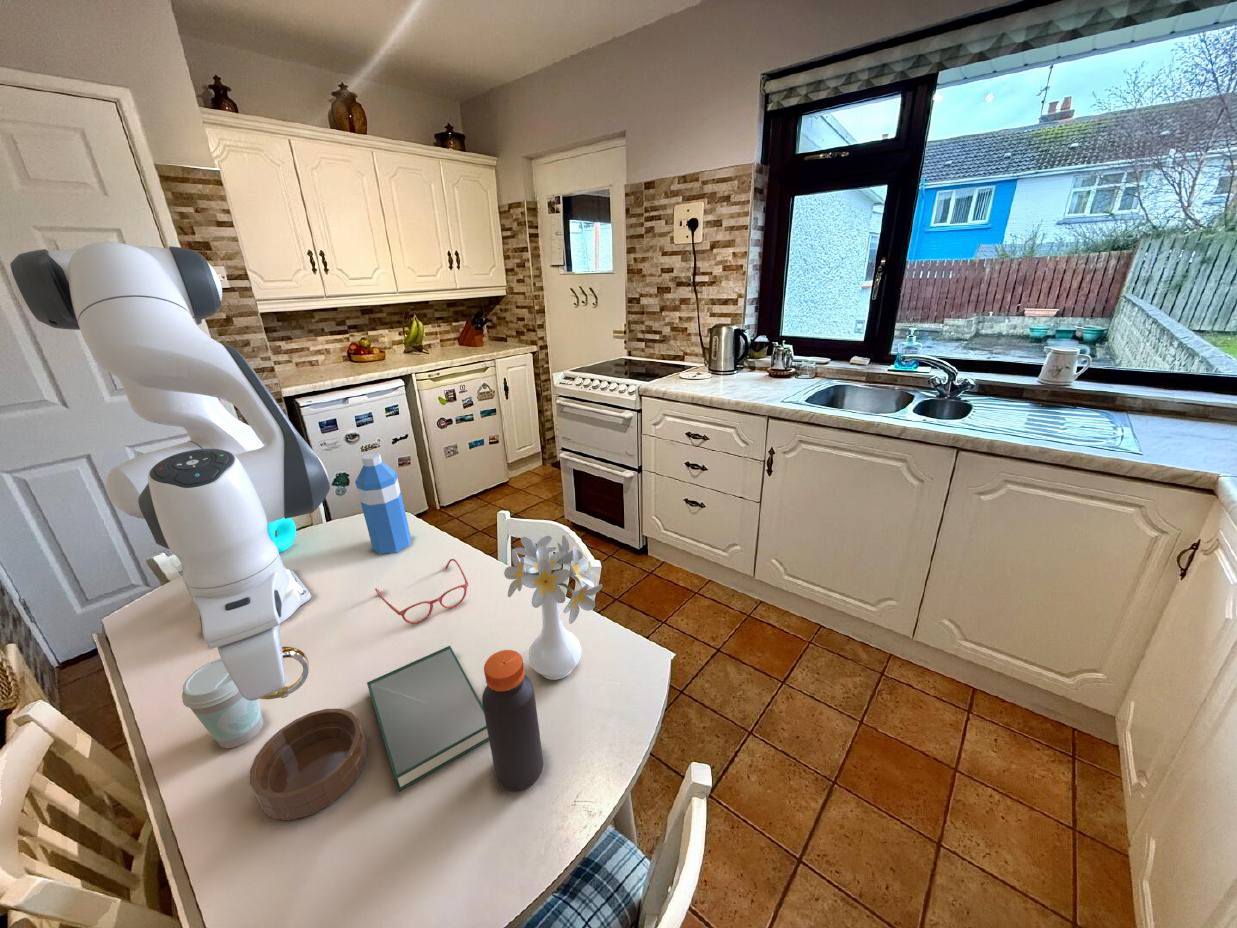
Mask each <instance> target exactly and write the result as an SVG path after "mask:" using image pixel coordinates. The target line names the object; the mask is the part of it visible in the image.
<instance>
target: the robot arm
mask: <svg viewBox="0 0 1237 928" xmlns="http://www.w3.org/2000/svg"><path fill="white" fill-rule="evenodd" d="M9 266H10V274H9V275H10V276H9V280H10V285H11V289H12V291H13V294H14V295H15V298H16V299H17V300H18V302H19V303H20V304H21V305H22V306H23V308H24V309H25V310H27V311H28V312H29V314H31V315H33V316H34V318H35V319H36V320H37V321H38V322H40V323H42V324H44V325H47V326H49V327H51V328H54V329H61V330H72V331H73V330H75V331H79V330H80V333H81V335H82V337H83V339H84V342H85V344H86V346H87V347H88V349H89V351H90V353H91V355H92V357H94V360H95V361H96V362H97V364H98V365H99V366H101V368H102V369H104V370H105V371H106V372H108V373H109V374H111V375H113V376H114V377H115V378H118V379H119V381H120V384H121V386H122V388H123V391H124V393H125V395H126V397H127V399H128V402H129V404H130V406H131V409H132V411H133V412H134V413H135V414H136V415H137V416H138V417H140V418H141V419H143V420H145V421H147V422H149V423H153V424H158V425H161V426H162V425H163V426H169V427H178V428H183V429H184V430H185V431H186V433H187V434H188V436H189V440H188V441H185V442H182V443H177V444H174V445H170V446H166V447H164V448H163V447H162V448H159V449H156V450H152V451H149V452H145V453H142V454H140V455H138V456H135V457H132V458H130V459H128V460H126V461H124V462H122V463H120V464H118V465H116V466H114V467H112V468H111V469H110V471H109V473H108V474H107V477H106V481H105V491H106V494H107V496H108V499H109V501H110V502H111V504H113V505H114V507H116V508H117V509H118V510H119V511H120V512H123V513H124V514H126V515H127V516H130V517H134V518H138V519H142V520H143V519H144V520H145V522H146V524H147V526H148V528H149V530H150V532H151V535H152V537H153V539H154V542H155V544H157V545H159V546H161V547H162V548H165V549H168V550H170V551H171V553H172V554H173V555H174V556H175V557H177V559H178V560H179V561H180V564H181V567H182V579H183V582H184V584H185V586H186V589H187V590H188V593H189V595H190V597H191V600H192V604H193V606H194V609H195V611H196V612H197V614H198V616H199V620H200V628H201V632H202V638H203V640H204V642H205V645H206V646H207V648H208V649H210V650H212V649H216V648H217V651H218V654H219V657H220V658H221V660H222V662H223V664H224V666H225V668H226V670H227V671H228V673H229V675H230V677H231V678H232V680H233V682H234V684H235V685H236V687H237V688H238V690H239V692H240V693H241V695H242V696H243V697H244V698H245V699H247V700H249V701H254V700H257V699H258V700H259V699H260V698H262V697H265V696H267V695H270V694H272V693H274V692H276V691H279V690H281V689H282V688H284V687H286V674H285V665H284V664H285V663H284V658H283V654H282V647H283V645H282V635H281V634H282V633H281V624H282V623H284V622H285V621H286V620H287V619H289V618H290V617H291V616H293V615H294V613H295V612H296V611H297V610H298V609H299V608H300V607H301V606H303V605H305V604H306V603H307V602H308V601H310V600H311V599H312V595H311V593H310V591H309V590H308V589H307V587H306V586H305V585H304V583H303V582H302V581H301V580H300V578H299V577H298V575H297V574H296V573H295V571H293V569H287V568H286V566H285V565H284V563H283V561H282V557H281V555H280V553H279V552H278V549H277V547H276V545H275V544H274V543H273V542H272V540H271V539H270V537H269V535H268V532H267V523H270V522H273V521H276V520H279V519H283V518H285V519H287V518H291V519H292V518H295V517H300V516H305V515H309V514H313V513H314V512H315V511H316V510H317V509H318V508H319V507H320V506H321V505H322V503H323V502H324V501H325V499H326V497H327V496H328V494H329V492H330V490H331V485H330V478H329V474H328V471H327V469H326V466H325V465H324V463H323V462H322V460H321V458H320V457H319V456H318V455H317V454H316V453H315V451H314V450H313V449H312V447H311V446H310V445H309V444H308V442H307V441H306V440H305V439H304V438H303V437H302V436H301V434H300V432H298V431H297V429H296V428H295V426H294V425H293V423H292V421H290V419H289V418H288V416H287V415H286V414H285V412H284V410H283V409H282V407H281V406H280V405H279V404H278V402H277V400H276V399H275V397H274V396H273V395H272V393H271V391H270V390H269V388H268V387H267V386H266V385H265V383H264V382H263V380H262V379H261V378H260V377H259V375H258V373H257V372H256V371H255V369H254V368H253V366H251V364H250V363H249V362H248V361H247V359H246V358H245V356H243V355H242V354H241V353H240V352H239V351H238V350H237V348H235V347H234V346H231V345H229V344H225V343H223V342H219V341H217V340H216V339H214V338H212V337H211V336H209V335H208V334H206V333H205V332H204V331H203V330H202V329H201V328H200V327H199V326H198V325H201V324H202V320H204V319H207V318H210V317H212V316H214V315H216V313H217V312H218V311H219V310H220V309H221V308H222V299H223V287H222V283H221V278H220V277H219V276H218V273H217V272H216V270H215V268H214V267H213V266H212V265H211V264H210V263H209V262H208V260H207V259H206V257H205V256H203V255H202V254H201V253H200V252H199V251H197V250H194V249H191V248H186V247H179V246H173V245H170V246H169V247H168V248H167V247H158V246H157V247H156V246H147V245H131V244H127V243H123V242H116V241H99V242H98V241H97V242H93V243H89V244H87V245H84V246H82V247H78V248H77V247H76V248H68V249H58V250H52V251H49V250H48V249H47V248H43V249H36V250H31V251H26V252H22V253H19V254H17V255H16V256H15V257H14V259H13V260H11V262H10V265H9ZM221 400H223V401H226V402H228V403H230V404H231V405H233V406H234V407H235V408H237V410H238V411H239V412H240V414H241V415H242V416H243V418H244V419H245V421H246V423H245V422H243V421H241V420H240V419H238V418H237V417H235V416H234V415H233V414H232V413H230V411H228V409H227V408H225V405H223V404H222V402H221ZM260 700H261V699H260Z"/></svg>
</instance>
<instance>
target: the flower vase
mask: <svg viewBox="0 0 1237 928" xmlns="http://www.w3.org/2000/svg"><path fill="white" fill-rule="evenodd" d="M551 541H552V536H551V535H546V536H544V537H543V536H542V538H540V539H539V540H538V541H537V542H536V543H535V541H534V540H533V539H532V538H531V537H530V536H529V537H528V536H522V537H520V542H521V544H522V546H523V547H515V548H513V549H512V550H511V560H512V561H511V562H512V564H513V566H507V567H506V568H505V569H504V570H503V576H504V577H505V579H507V580H512V582H511V583H510V585H509V587H508V591H507V597H508V598H511V597H512V596H513V595H514V593H515V591H516V590H517V591H518V592H521V591H522V588H523V586H524V587H526V588H529V589H535V590H534V592H533V594H532V597H531V606H532V607H533V608H535V609H537V608H539V607H541V617H542V619H541V620H542V628H541V630H540V633H539V634H538V635H537V636H536V637H535V638H534V639H533V641H532V643H531V644H530V646H529V650H528V662H529V665H530V666H531V668H532V669H533V670H534V671H535V672H536V673H537V674H539V675H541V676H542V677H543V678H545V679H547V680H551V681H557V680H562V679H564V678H566V677H567V676H569V675H570V674H571V672H572V671H573V670H574V669H575V668H576V666H578V664H579V663H580V660H581V658H582V651H583V650H582V646H581V642H580V640H579V639H578V637H577V636H576V635H575V634H574V633H573V632H571V631H569V630H567V629H566V628H565V626H564V624H563V620H562V614H561V606H560V604H563V603H565V602H566V595H565V592H564V591H563V590H562V588H561V587H564V588H566V589H567V590H568V591H569V592H570V594H571V597H570V599H569V601H568V602H567V604H566V606H565V607H564V609H563V614H567V613H569V617H568V624H569V625H572V624H573V623H574V622H575V621H576V620H577V618H578V616H579V614H580V608H581V609H582V610H584V611H586V612H588V611H589V612H590V611H593V610H594V609H595V607H596V602H595V601H594V599H593V598H591V597H592V596H594V595H596V594H597V593H599V592H600V591H601V590H602V588H603V584H598V585H595V583H594V582H593V580H592V579H591V578H590V576H589V575H587V574H586V573H587V570H588V568H589V561H588V558H586V557H584V554H583V553H582V552H581V551H580V550H578V549H577V547H576V546H575V545H574V546H573V547H572V550H570V544H569V543H570V542H569V540H568V538H567V537H566V536H565V535H562V536H561V543H559V542H556V545H557V547H556V546H549V544H550V542H551ZM557 548H558V551H556V549H557ZM554 551H556V552H555V553H553V554H552V555H550V553H551V552H554ZM518 554H519V555H523V556H522V557H519V555H518ZM526 565H527V566H529V567H530V568H529V569H528V570H527V568H526ZM563 565H564V566H567V567H569V569H565V568H564V569H563ZM569 578H572V579H573V580H574V581H575V582H576V583H577V584H578V585H579V586H580V587H581V588H579V589H578V590H576V591H575V590H574V589H573V588H571V586H570V585H568V584H566V583H564V582H566V581H567V580H568V579H569Z"/></svg>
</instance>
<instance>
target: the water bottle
mask: <svg viewBox="0 0 1237 928" xmlns="http://www.w3.org/2000/svg"><path fill="white" fill-rule="evenodd" d="M361 461H362V465H363V466H362V467H361V470H360V471H359V474H358V475H357V478H356V479H355V481H354V482H355V487H356V490H357V494H358V498H359V502H360V505H361V509H362V512H363V516H364V520H365V524H366V528H367V531H368V535H369V539H370V543H371V547H372V550H373V551H374V552H376V553H378V554H380V555H387V554H388V555H389V554H394V553H398V552H400V551H402V550H403V549H405V548H407V547H409V546H410V545H411V541H412V535H411V532H410V526H409V523H408V517H407V514H406V509H405V505H404V501H403V496H402V491H401V487H400V483H399V482H400V481H399V479H398V473H397V470H394V469H393V468H392V467H390V466H389V465H388V464H386V463H385V462H384V461H383V460H382V456H381V453H379V452H369V453H366V454H363V455H362V457H361Z"/></svg>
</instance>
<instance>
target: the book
mask: <svg viewBox="0 0 1237 928" xmlns="http://www.w3.org/2000/svg"><path fill="white" fill-rule="evenodd" d="M366 684H367V688H368V691H369V694H370V699H371V702H372V706H373V708H374V713H375V716H376V719H377V722H378V726H379V729H380V733H381V736H382V739H383V743H384V746H385V750H386V753H387V757H388V760H389V763H390V767H391V771H392V773H393V776H394V780H395V784H396V787H397V790H398V792H401V791H403V790H404V789H406V788H408V787H411V785H413V784H415V783H417V782H418V781H420V780H423V779H424V778H425V777H427V776H429V775H430V774H432V773H434V772H436V771H438V770H440V769H441V768H443V767H444V766H447V765H448V764H450V763H452V762H453V761H455V760H457V759H459V758H461V757H462V756H464V755H466V754H467V753H469V752H471V751H472V750H474V749H476V748H478V747H479V746H482V745H484V744H485V743H487V742H489V737H488V732H487V726H486V721H485V716H484V710H483V705H482V701H481V700H480V698H479V696H478V694H477V693H476V691H475V688H474V687H473V685H472V683H471V681H470V679H469V678H468V676H467V674H466V672H465V670H464V669H463V667H462V665H461V663H460V661H459V659H458V657H457V656H456V654H455V652H454V650H453V648H452V645H448V646H446V647H444V648H441V649H438V650H437V651H434V652H432V653H430V654H428V655H426V656H423V657H421V658H419V659H416V660H414V661H412V662H410V663H408V664H405V665H403V666H400V667H399V668H397V669H394V670H392V671H390V672H387V673H385V674H383V675H380V676H379V677H376V678H374V679H372V680H369V681H367V682H366Z"/></svg>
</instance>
